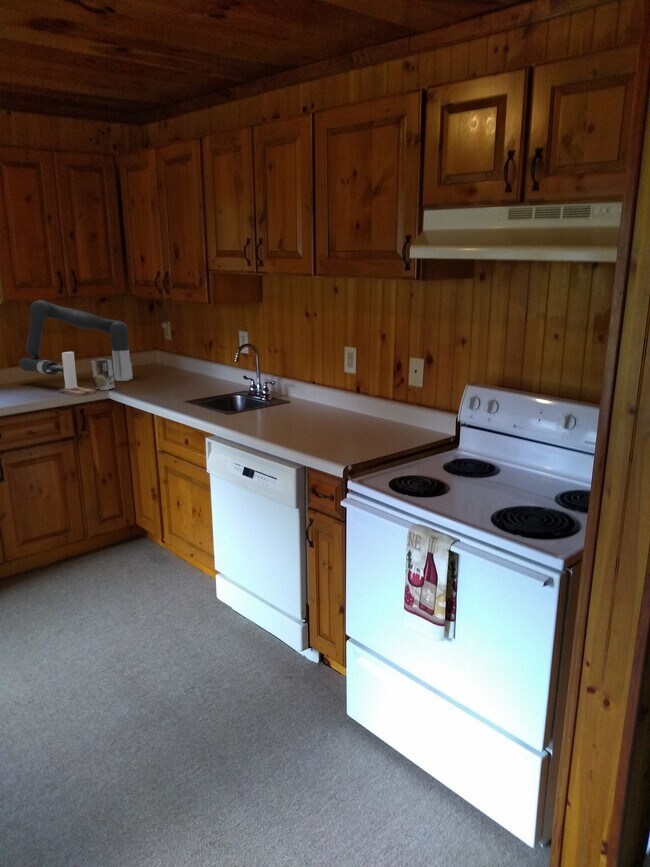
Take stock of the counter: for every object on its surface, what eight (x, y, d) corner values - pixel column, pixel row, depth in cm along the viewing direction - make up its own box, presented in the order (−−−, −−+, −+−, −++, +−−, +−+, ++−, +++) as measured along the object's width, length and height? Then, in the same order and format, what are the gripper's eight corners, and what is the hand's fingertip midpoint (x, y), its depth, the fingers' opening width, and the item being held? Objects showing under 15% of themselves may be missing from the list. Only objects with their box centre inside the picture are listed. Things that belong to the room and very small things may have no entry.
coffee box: (115, 388, 358) (112, 358, 354) (110, 390, 352) (107, 360, 348) (99, 387, 359) (96, 358, 355) (93, 390, 353) (91, 360, 349)
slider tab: (73, 386, 352) (69, 351, 347) (77, 387, 350) (74, 352, 345) (64, 388, 348) (61, 352, 343) (69, 389, 346) (65, 353, 341)
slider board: (75, 389, 355) (75, 386, 355) (95, 392, 346) (95, 389, 346) (59, 392, 347) (59, 389, 347) (79, 396, 338) (79, 393, 338)
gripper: (35, 362, 351) (55, 365, 341) (57, 358, 361) (77, 361, 352) (37, 376, 353) (57, 379, 343) (59, 372, 363) (78, 375, 354)
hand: (67, 370), depth 348 cm, fingers closed
